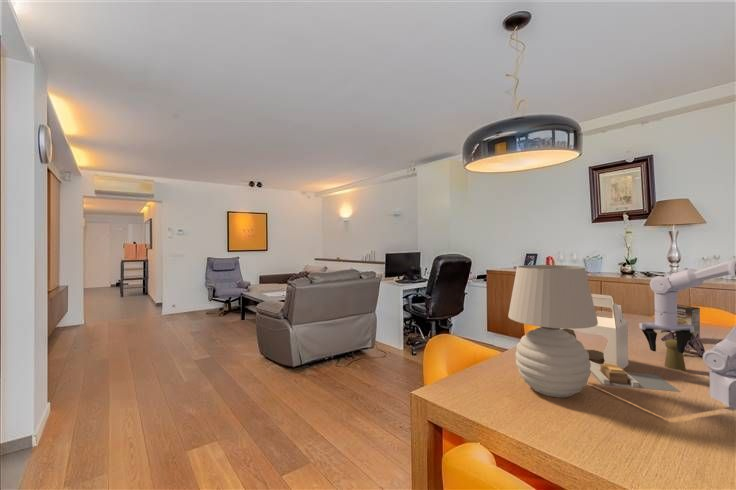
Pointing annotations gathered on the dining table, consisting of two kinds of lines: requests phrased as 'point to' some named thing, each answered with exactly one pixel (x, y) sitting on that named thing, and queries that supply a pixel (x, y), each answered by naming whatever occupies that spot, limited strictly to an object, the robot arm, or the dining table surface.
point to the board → (636, 381)
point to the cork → (674, 356)
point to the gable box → (608, 333)
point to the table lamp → (552, 327)
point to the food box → (689, 318)
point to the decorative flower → (691, 344)
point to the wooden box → (614, 373)
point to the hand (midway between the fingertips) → (666, 351)
